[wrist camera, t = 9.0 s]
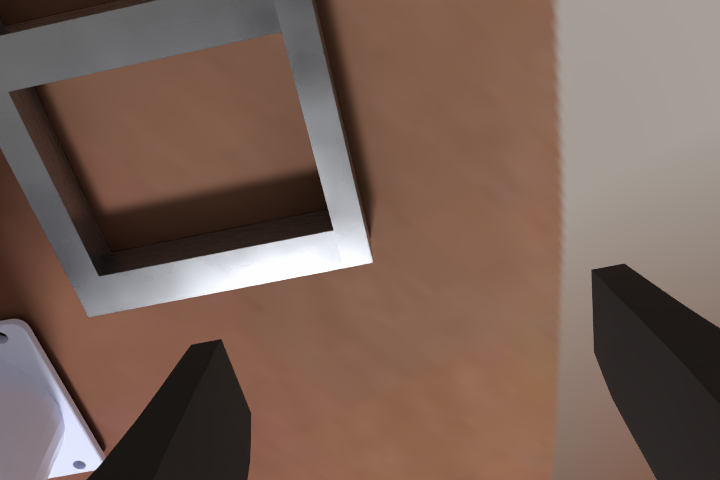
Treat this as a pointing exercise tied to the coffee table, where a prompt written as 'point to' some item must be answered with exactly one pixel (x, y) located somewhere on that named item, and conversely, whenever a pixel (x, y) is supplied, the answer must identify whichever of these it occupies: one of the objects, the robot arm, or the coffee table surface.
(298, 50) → the yellow grey ladder frame
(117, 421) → the coffee table surface
